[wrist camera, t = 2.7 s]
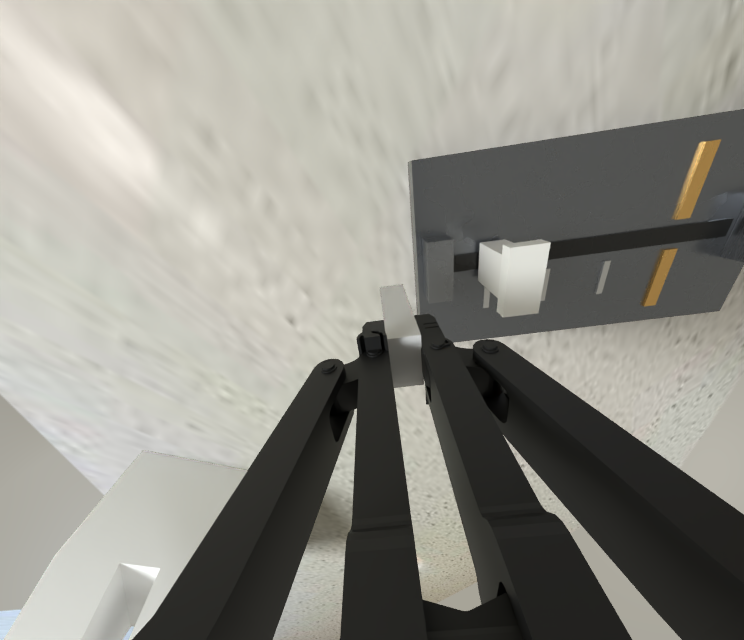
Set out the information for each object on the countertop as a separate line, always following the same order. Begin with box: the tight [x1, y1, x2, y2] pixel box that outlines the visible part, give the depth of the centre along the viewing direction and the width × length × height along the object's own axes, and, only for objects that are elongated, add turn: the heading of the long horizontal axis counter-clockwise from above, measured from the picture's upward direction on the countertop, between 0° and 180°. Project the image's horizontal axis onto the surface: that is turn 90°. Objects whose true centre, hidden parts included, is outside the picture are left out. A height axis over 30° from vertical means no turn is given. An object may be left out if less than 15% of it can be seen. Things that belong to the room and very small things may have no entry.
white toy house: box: [4, 450, 248, 640], centre depth 31 cm, size 19×15×25 cm
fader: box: [478, 239, 551, 317], centre depth 20 cm, size 5×2×5 cm, turn 8°
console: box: [408, 109, 744, 342], centre depth 22 cm, size 16×28×4 cm, turn 98°
